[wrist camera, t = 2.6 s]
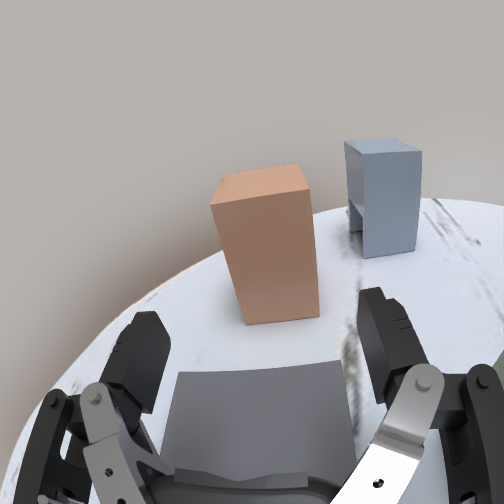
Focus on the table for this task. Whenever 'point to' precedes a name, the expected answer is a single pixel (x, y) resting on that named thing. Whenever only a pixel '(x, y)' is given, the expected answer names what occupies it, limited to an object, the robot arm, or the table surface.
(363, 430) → the table surface
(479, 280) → the table surface
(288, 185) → the hood terracotta
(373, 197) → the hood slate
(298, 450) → the mat
